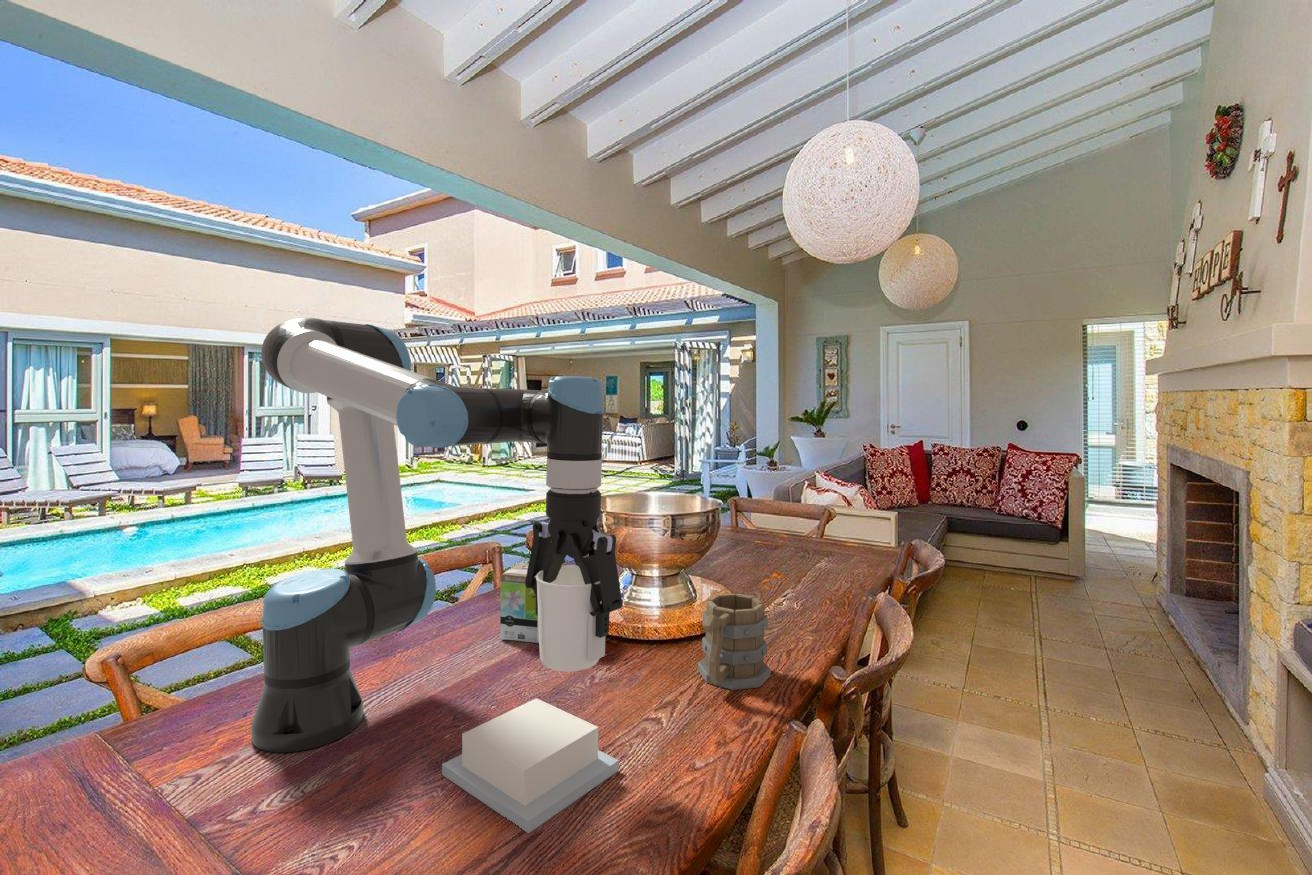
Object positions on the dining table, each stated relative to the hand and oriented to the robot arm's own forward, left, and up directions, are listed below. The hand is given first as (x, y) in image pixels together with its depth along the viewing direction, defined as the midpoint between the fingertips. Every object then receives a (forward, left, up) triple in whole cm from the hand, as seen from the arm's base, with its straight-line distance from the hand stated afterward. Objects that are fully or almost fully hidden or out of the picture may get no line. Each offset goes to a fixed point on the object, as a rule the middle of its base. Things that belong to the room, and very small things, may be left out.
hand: (570, 648), depth 85 cm
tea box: (-39, +29, -17) cm, 52 cm away
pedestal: (-2, -5, -17) cm, 18 cm away
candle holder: (0, 0, -2) cm, 2 cm away
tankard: (+4, +36, -17) cm, 40 cm away
